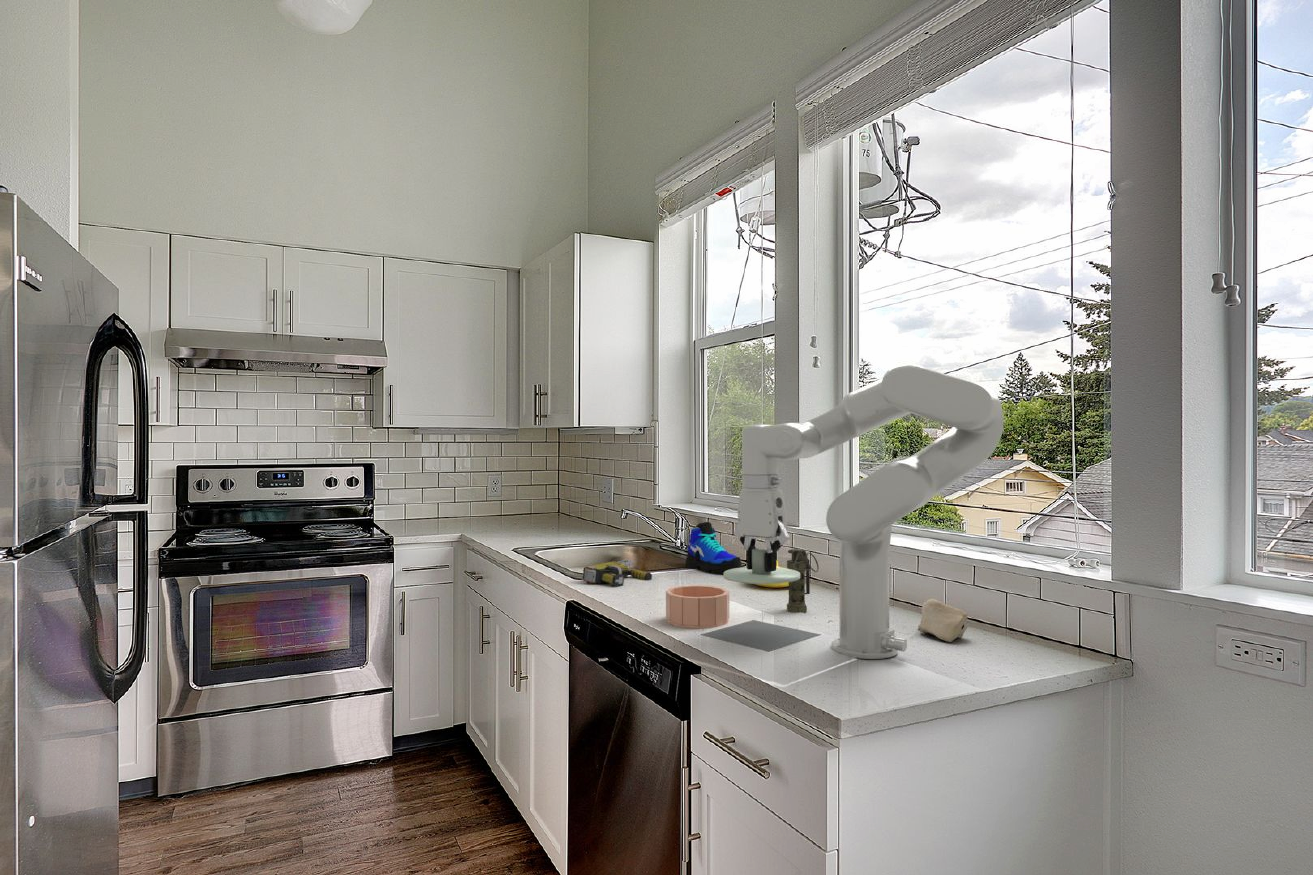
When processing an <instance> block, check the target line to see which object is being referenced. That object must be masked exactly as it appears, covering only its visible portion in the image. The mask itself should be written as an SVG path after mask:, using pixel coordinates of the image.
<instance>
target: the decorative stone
mask: <svg viewBox="0 0 1313 875" xmlns="http://www.w3.org/2000/svg"><path fill="white" fill-rule="evenodd" d="M968 621H969V620H968V613H967V612H965V611H963V610H962V609H959V608H957V607H954V606H951V605H948V604H946V603H944V602H942V601H939V600H937V599H936V598H929V599H927V600H926V601H924V602H923V603H922V607H921V620H920V624H918V626H917V628H918V629H919V631H920V632H921V633H929V634H931V635H933V636H935V637H936V638H938V639H940V640H942V641H945V642H948V643H951V642H953V641H954V640H955V639H957V638H958V637H959V638H960V639H963V636H964V634H965V632H966V631H967V629H968Z"/></svg>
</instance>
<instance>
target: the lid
mask: <svg viewBox="0 0 1313 875" xmlns="http://www.w3.org/2000/svg"><path fill="white" fill-rule="evenodd" d="M765 553H767V549H766V547H756V548H754V549H752V569H751V570H749V569H747V566H745V567H744V566H743V567H741V568H735V569H730V570H727V571H725V572H724V573H723V579H725V580H727V581H731V582H734V583H740V584H741V583H742V584H750V585H751V584H753V585H756V584H778V583H787V582H793V581H796V580H799V579H800V572H798V571H795V570H792V569H788V568H787V567H782V568H777V567H776V571H772V572H765V560H764V554H765ZM786 568H787V569H786Z"/></svg>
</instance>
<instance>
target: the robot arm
mask: <svg viewBox="0 0 1313 875" xmlns="http://www.w3.org/2000/svg"><path fill="white" fill-rule="evenodd" d="M1003 411H1004V410H1003V406H1002V403H1001V400H1000V399H999V397H998V395H997V394H996V392H994V391H993V390H992V389H991V388H989V387H987V386H985V385H982V384H980V383H976V382H975V381H971V380H970V381H969V380H966V379H963V378H960V377H955V376H952V375H949V374H946V373H942V372H939V371H935V370H933V369H932V370H931V369H928V368H926V367H923V366H921V365H918V364H916V363H913V362H912V363H911V362H904V363H903V362H902V363H899V364H896V365H893V367H892V366H891V368H889V369H888V370H887V371H886V372H885V373H884V376H883V377H881V378H879V379H877V380H875V381H873V382H870V383H868V384H866V385H864V386H862V387H860V388H858V389H855V390H853V391H851V392H849V393H847V394H846V395H845V396H844V397H843V398H842V400H841V401H840V402H839V404H837V405H836V406H835V407H833V408H832V409H830V410H829V411H826V412H824V413H822V414H821V415H820V414H819V415H818V416H816V417H813V418H811V419H809V420H807V421H805V422H787V423H786V422H785V423H780V424H779V423H777V424H774V425H773V424H748V425H744V427H743V428H742V430H741V453H742V454H741V464H742V466H741V467H742V468H741V469H742V470H741V472H742V473H741V474H742V476H741V477H742V489H740V493H739V497H738V503H737V504H738V505H737V506H738V507H737V526H736V528H735V530H734V531H733V532H734V533H733V535H734V536H735V538H737V539H738V540H739V541H740V542H741V544H742V545H743V549H744V551H746V567H747V569H749V570H751V569H752V549H754V548H757V543H758V538H763V539H764V541H765V548H766V549H767V553H765V554H764V560H765V572H772V571H776V566H777V561H778V560H777V558H778V557H777V552H779V551H780V549H781V547H783V545H784V544H786V543H787V542H788V541H789V540H790V539H791V537H790V535H789V533H788V522H787V519H788V518H787V511H786V510H787V509H786V503H785V497H784V493H783V489H779V486H781V485H782V484H783V479H782V478H779V459H780V460H781V459H782V460H799V459H808V458H812V457H815V456H818V455H820V454H822V453H824V452H826V451H829V450H831V449H834V448H836V447H838V446H840V445H842V444H845V443H847V442H849V441H851V440H853V439H855V438H858V437H861V436H862V435H865V434H866V433H869V432H871V431H873V430H876V429H878V428H880V427H882V426H884V425H886V424H889V423H892V422H894V421H896V420H899V419H901V418H904V417H906V416H908V415H911V414H912V415H914V416H918V417H921V418H925V419H928V420H931V421H934V422H937V423H940V424H943V425H946V426H949V427H951V428H950V429H949V430H948V431H947V432H945V433H944V434H942V435H941V436H940V437H938V438H936V439H935V440H933V441H932V442H930V443H929V444H928V445H926V446H925V447H924V448H922V449H920V450H919V451H918V452H916V453H914V454H913V455H911V456H909V457H907V458H905V459H902V460H901V459H900V460H896V461H892V462H889V463H888V464H885V465H883V466H882V467H880V468H879V469H877V470H876V471H874V472H872V473H871V474H869V475H868V476H866V477H865V478H864V479H862V480H861V481H859V482H857V483H856V484H855V485H853V486H852V487H850V488H849V489H847V490H846V491H844V492H843V493H841V494H840V495H839V496H837V497H836V498H834V500H833V501H832V502H831V503H830V505H829V506H828V508H827V512H826V517H825V518H826V519H825V520H826V522H825V523H826V525H827V529H828V531H829V532H830V535H832V536H833V538H835V539H836V540H838V541H839V542H840V548H839V571H838V572H839V638H836V639H834V640H833V641H832V642H831V649H832V650H833V651H834V652H836V653H839V654H841V655H844V656H849V657H855V659H864V660H880V659H888V658H892V657H894V656H896V655H897V654H898V652H903V653H904V652H906V650H907V648H908V640H907V639H906V638H900V637H896V635H895V629H893V628H890V554H891V553H890V552H891V538H892V527H893V526H892V525H893V524H895V523H896V522H898V521H899V520H900V519H903V518H904V517H905V516H907V515H909V514H910V513H912V512H914V511H916V510H918V509H920V508H921V507H924V506H925V505H927V503H929V501H931V500H932V499H933V498H935V497H936V496H937V495H939V494H941V493H942V492H944V491H945V490H946V489H948V488H949V487H951V486H953V485H954V484H955V483H958V481H959V480H961V479H962V478H964V477H966V476H967V475H969V474H970V473H971V472H973V471H974V470H976V469H978V468H979V467H980V466H981V465H983V463H984V462H986V460H988V459H989V458H990V456H991V455H992V454H993V453H994V451H995V450H996V448H997V446H998V445H999V443H1000V440H1001V438H1002V434H1003V431H1004V412H1003Z"/></svg>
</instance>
